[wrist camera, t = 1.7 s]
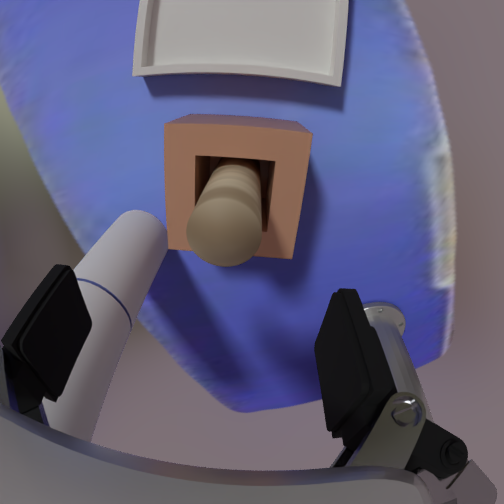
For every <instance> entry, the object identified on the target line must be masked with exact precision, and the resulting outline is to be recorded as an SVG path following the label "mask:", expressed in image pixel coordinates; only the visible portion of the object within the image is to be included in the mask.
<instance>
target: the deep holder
mask: <svg viewBox="0 0 504 504" xmlns="http://www.w3.org/2000/svg"><path fill="white" fill-rule="evenodd" d="M312 135H313V133H311V132H310V131H309V130H308V129H306V128H305V127H304V126H302V125H301V124H300V123H298V122H297V121H289V120H281V119H272V118H261V117H250V116H235V115H215V114H189V115H186V116H183V117H181V118H178V119H175V120H173V121H170V122H167V123H165V124H164V171H165V201H166V221H167V236H168V249H174V250H186V251H193V250H192V249H191V247H190V245H189V243H188V240H187V234H186V228H187V223H188V220H189V218H190V216H191V214H192V212H193V210H194V208H195V206H196V204H197V202H198V200H199V198H200V196H201V194H202V192H203V190H204V188H205V186H206V184H207V183H208V181H209V179H210V177H211V175H212V173H213V171H214V169H215V167H216V166H217V164H218V162H219V160H220V158H221V157H235V158H248V159H258V161H259V163H260V176H261V218H262V239H261V244H260V246H259V248H258V250H257V252H256V253H255V254H254V255H253V256H259V257H271V258H284V259H292V256H293V251H294V245H295V240H296V235H297V229H298V223H299V218H300V212H301V206H302V200H303V194H304V188H305V182H306V175H307V169H308V162H309V156H310V149H311V142H312Z"/></svg>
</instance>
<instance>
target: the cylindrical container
mask: <svg viewBox="0 0 504 504" xmlns="http://www.w3.org/2000/svg"><path fill="white" fill-rule="evenodd" d="M167 250H168V236H167V231H166V229H165V227H164V225H163V224H162V223H161V222H160V220H158V219H157V218H156V217H155V216H153V215H152V214H150V213H148V212H145V211H141V210H131V211H127V212H125V213H123V214H122V215H121V216H120V217H118V219H117V220H116V221H115V222H114V223H113V224H112V225H111V226H110V227H109V229H108V230H107V231H106V232H105V233H104V234H103V235H102V237H101V238H100V239H99V240H98V241H97V242H96V243H95V245H94V246H93V247H92V248H91V249H90V251H89V252H88V253H87V254H86V255H85V257H84V258H83V259H82V260H81V262H80V263H79V264H78V265H77V266H76V268H75V269H74V270H73V271H74V272H75V275H76V278H77V281H78V284H79V287H80V290H81V293H82V296H83V299H84V301H85V304H86V307H87V309H88V312H89V314H90V317H91V320H92V328H91V331H90V333H89V335H88V337H87V339H86V341H85V343H84V345H83V347H82V350H81V352H80V354H79V356H78V358H77V360H76V363H75V365H74V367H73V369H72V372H71V374H70V376H69V379H68V381H67V384H66V386H65V388H64V391H63V393H62V395H61V396H60V397H58V399H57V402H53V401H51V400H48V399H46V398H45V397H43V400H42V403H43V406H44V410H45V413H46V416H47V419H48V423H49V426H50V427H51V428H53V429H56V430H58V431H60V432H63V433H66V434H68V435H71V436H73V437H76V438H79V439H82V440H85V441H87V442H90V443H91V439H92V436H93V433H94V430H95V427H96V423H97V420H98V417H99V414H100V411H101V408H102V405H103V403H104V400H105V397H106V394H107V391H108V388H109V386H110V383H111V380H112V377H113V375H114V372H115V369H116V367H117V364H118V362H119V359H120V357H121V354H122V351H123V349H124V346H125V344H126V341H127V339H128V337H129V334H130V332H131V330H132V327H133V324H134V322H135V320H136V318H137V315H138V313H139V311H140V309H141V306H142V304H143V302H144V300H145V297H146V295H147V293H148V291H149V289H150V286H151V284H152V282H153V280H154V278H155V276H156V274H157V271H158V269H159V267H160V265H161V263H162V261H163V259H164V257H165V255H166V253H167Z"/></svg>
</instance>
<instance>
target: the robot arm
mask: <svg viewBox="0 0 504 504" xmlns="http://www.w3.org/2000/svg"><path fill="white" fill-rule="evenodd" d="M91 328H92V320H91V317H90V314H89V312H88V309H87V307H86V304H85V301H84V299H83V296H82V293H81V290H80V287H79V284H78V281H77V278H76V275H75V272H74V271H73V270H72V269H71V267H70V266H67V265H59V264H56V265H55V266H54V267H53V268H52V269H51V270H50V272H49V273H48V274H47V276H46V277H45V278H44V279H43V281H42V282H41V283H40V285H39V286H38V287H37V289H36V290H35V291H34V293H33V294H32V295H31V297H30V298H29V299H28V301H27V302H26V304H25V305H24V306H23V308H22V309H21V311H20V312H19V314H18V315H17V317H16V318H15V320H14V321H13V323H12V324H11V326H10V327H9V329H8V330H7V332H6V333H5V335H4V337H3V338H2V340H1V341H2V343H3V345H4V346H3V348H1V346H0V504H495V501H496V498H497V489H496V488H495V486H494V484H493V483H492V482H491V481H490V480H489V479H488V477H487V476H486V475H485V474H484V473H483V472H482V470H481V469H480V468H479V467H478V466H477V465H476V463H475V462H474V461H473V460H470V461H468V460H467V458H468V451H467V447H466V445H465V443H464V442H463V441H462V440H461V439H460V438H458V437H456V436H455V435H453V434H451V433H450V432H448V431H446V430H444V429H443V428H441V427H440V426H438V425H436V424H435V423H434V421H433V418H432V415H431V412H430V409H429V406H428V404H427V401H426V398H425V395H424V392H423V389H422V387H421V384H420V381H419V378H418V376H417V373H416V371H415V368H414V365H413V363H412V360H411V358H410V355H409V353H408V351H407V348H406V346H405V343H404V341H403V339H402V334H403V332H404V329H405V318H404V315H403V314H402V312H401V310H400V309H399V308H398V307H397V306H395V305H393V304H390V303H386V302H373V303H367V304H363V305H362V303H361V300H360V298H359V295H358V293H357V291H356V290H355V289H342V288H340V289H339V290H338V291H337V292H334V293H333V294H332V297H331V300H330V303H329V305H328V308H327V311H326V314H325V317H324V320H323V322H322V325H321V328H320V331H319V333H318V336H317V339H316V341H315V347H314V351H315V357H316V363H317V369H318V375H319V381H320V387H321V394H322V400H323V407H324V413H325V420H326V427H327V430H328V431H329V432H330V431H332V437H333V438H339V437H342V439H343V445H344V446H345V447H344V448H343V450H342V451H341V453H340V454H339V455H338V457H337V458H336V459H335V461H334V462H333V464H332V465H331V466H330V468H322V469H310V470H289V471H288V470H286V471H251V470H250V471H249V470H229V469H228V470H227V469H215V468H206V467H197V466H190V465H182V464H176V463H169V462H164V461H159V460H154V459H149V458H144V457H140V456H136V455H132V454H128V453H124V452H120V451H116V450H113V449H110V448H106V447H103V446H100V445H96V444H93V443H90V442H87V441H85V440H82V439H79V438H76V437H73V436H71V435H68V434H66V433H63V432H60V431H58V430H56V429H53V428H51V427H50V426H49V423H48V419H47V416H46V413H45V410H44V406H43V403H42V400H43V397H45V398H46V399H48V400H51V401H53V402H57V399H58V397H60V396H61V395H62V393H63V391H64V388H65V386H66V384H67V381H68V379H69V376H70V374H71V372H72V369H73V367H74V365H75V363H76V360H77V358H78V356H79V354H80V352H81V350H82V347H83V345H84V343H85V341H86V339H87V337H88V335H89V333H90V331H91Z"/></svg>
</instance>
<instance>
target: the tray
mask: <svg viewBox="0 0 504 504" xmlns="http://www.w3.org/2000/svg"><path fill="white" fill-rule="evenodd" d="M348 3H349V0H140V3H139V10H138V18H137V26H136V35H135V45H134V58H133V74H132V76H139V77H145V76H158V75H176V74H229V75H248V76H260V77H271V78H280V79H288V80H295V81H302V82H309V83H315V84H320V85H326V86H331V87H341V80H342V72H343V63H344V53H345V43H346V31H347V18H348Z"/></svg>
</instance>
